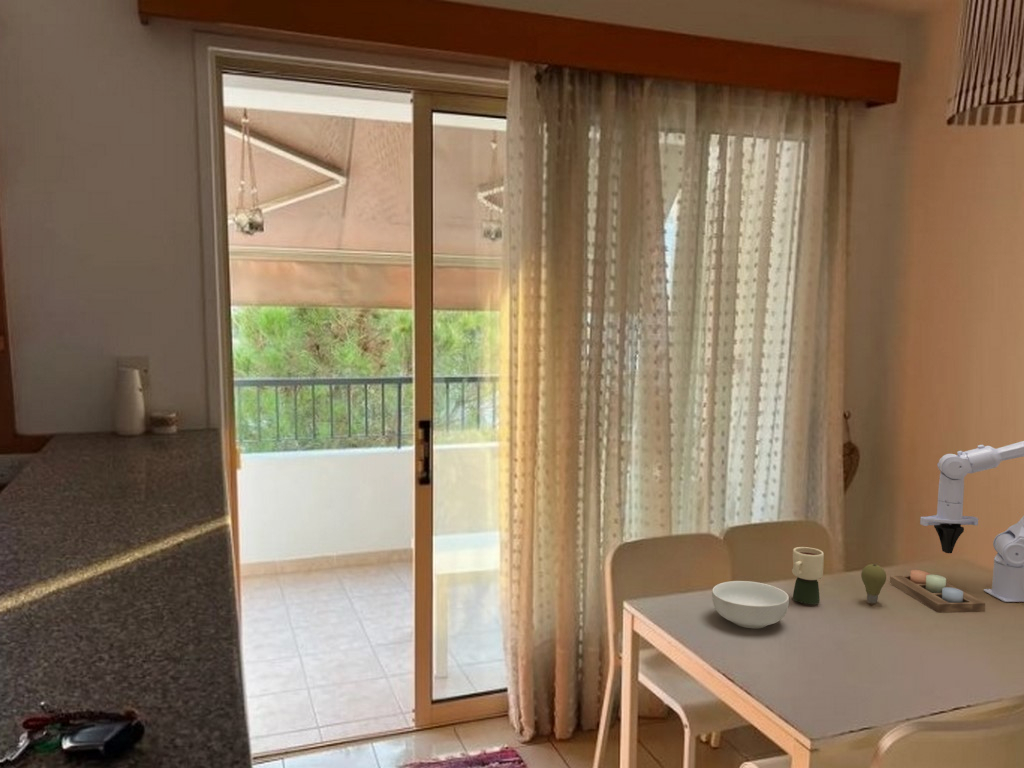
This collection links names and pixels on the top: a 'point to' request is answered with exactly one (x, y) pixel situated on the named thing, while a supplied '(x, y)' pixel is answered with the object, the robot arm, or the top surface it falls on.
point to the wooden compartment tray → (936, 597)
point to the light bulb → (873, 581)
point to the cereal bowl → (750, 603)
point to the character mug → (807, 574)
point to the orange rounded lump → (918, 576)
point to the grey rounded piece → (952, 595)
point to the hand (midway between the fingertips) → (947, 552)
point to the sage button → (935, 583)
